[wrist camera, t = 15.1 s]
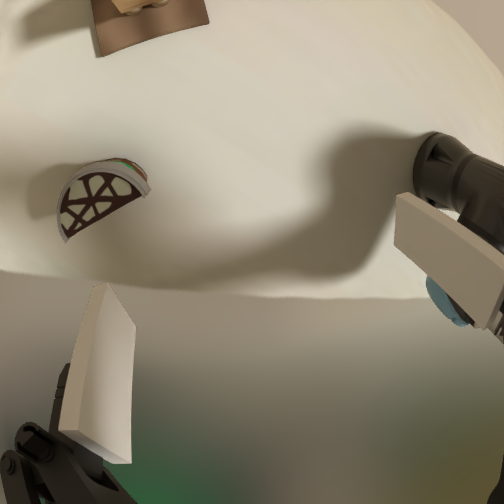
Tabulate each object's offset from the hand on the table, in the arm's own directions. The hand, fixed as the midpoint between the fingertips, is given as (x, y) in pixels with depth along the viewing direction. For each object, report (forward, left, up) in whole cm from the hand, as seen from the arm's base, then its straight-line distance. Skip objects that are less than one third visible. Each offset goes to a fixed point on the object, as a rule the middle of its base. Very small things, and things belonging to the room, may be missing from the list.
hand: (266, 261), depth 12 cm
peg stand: (+3, -24, -29) cm, 38 cm away
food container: (+14, -1, -29) cm, 32 cm away
